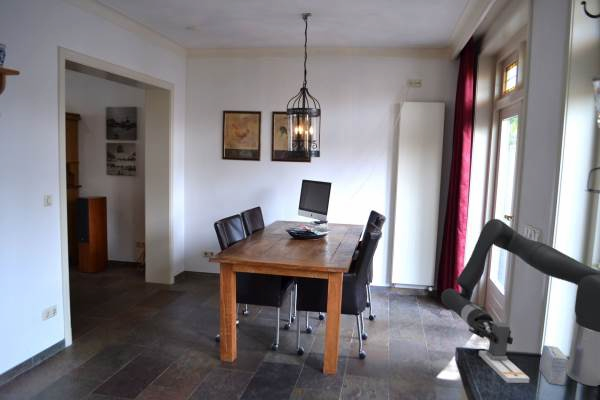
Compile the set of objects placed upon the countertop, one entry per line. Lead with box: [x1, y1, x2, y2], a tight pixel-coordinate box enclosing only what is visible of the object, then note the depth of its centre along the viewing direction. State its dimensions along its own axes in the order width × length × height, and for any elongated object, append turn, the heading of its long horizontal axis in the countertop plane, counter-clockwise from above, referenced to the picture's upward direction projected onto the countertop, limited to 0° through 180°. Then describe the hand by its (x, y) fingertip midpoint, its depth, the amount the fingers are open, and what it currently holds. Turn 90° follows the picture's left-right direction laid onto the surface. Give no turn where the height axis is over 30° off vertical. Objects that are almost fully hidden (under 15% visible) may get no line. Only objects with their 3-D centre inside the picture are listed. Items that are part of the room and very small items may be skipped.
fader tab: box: [485, 322, 511, 360], centre depth 135 cm, size 5×4×11 cm
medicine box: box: [539, 345, 569, 386], centre depth 128 cm, size 8×4×9 cm, turn 168°
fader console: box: [478, 350, 530, 384], centre depth 132 cm, size 7×16×2 cm, turn 6°
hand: (504, 341), depth 132 cm, fingers closed on fader tab, 4 cm apart
